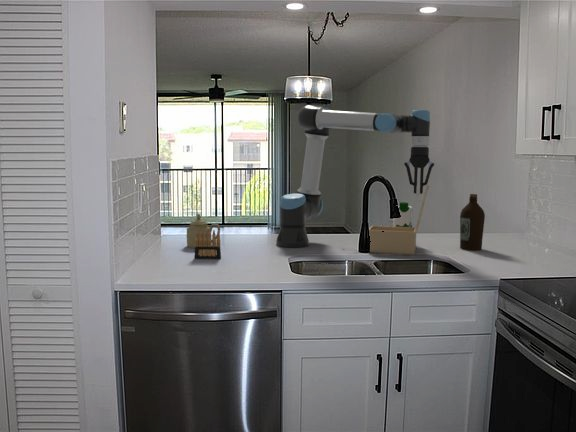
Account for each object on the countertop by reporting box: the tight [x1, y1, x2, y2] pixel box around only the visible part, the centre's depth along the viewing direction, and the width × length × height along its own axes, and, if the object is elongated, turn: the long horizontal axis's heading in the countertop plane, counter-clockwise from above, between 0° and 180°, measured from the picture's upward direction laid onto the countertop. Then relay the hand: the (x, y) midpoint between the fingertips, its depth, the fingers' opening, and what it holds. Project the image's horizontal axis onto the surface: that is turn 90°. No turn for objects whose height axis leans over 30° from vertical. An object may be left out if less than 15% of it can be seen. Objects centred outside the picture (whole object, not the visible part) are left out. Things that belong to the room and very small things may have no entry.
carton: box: [368, 225, 417, 256], centre depth 253 cm, size 20×13×10 cm, turn 75°
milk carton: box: [392, 201, 414, 228], centre depth 270 cm, size 9×9×20 cm
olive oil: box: [459, 193, 486, 252], centre depth 259 cm, size 11×11×25 cm
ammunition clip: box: [193, 229, 222, 260], centre depth 233 cm, size 11×2×12 cm, turn 90°
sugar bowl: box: [186, 213, 221, 249], centre depth 260 cm, size 15×11×15 cm
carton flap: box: [415, 182, 430, 233], centre depth 248 cm, size 20×14×1 cm
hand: (417, 201), depth 248 cm, fingers closed
